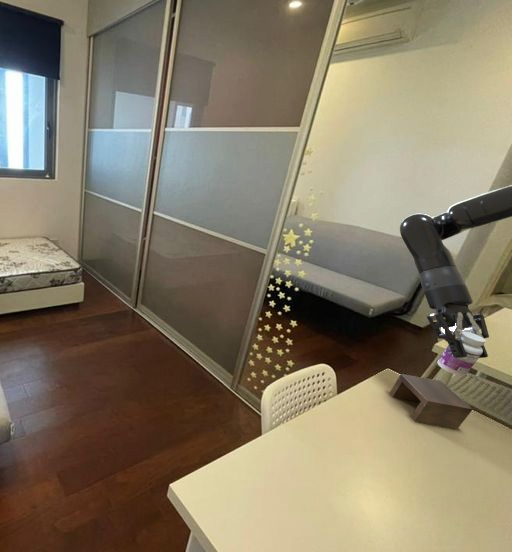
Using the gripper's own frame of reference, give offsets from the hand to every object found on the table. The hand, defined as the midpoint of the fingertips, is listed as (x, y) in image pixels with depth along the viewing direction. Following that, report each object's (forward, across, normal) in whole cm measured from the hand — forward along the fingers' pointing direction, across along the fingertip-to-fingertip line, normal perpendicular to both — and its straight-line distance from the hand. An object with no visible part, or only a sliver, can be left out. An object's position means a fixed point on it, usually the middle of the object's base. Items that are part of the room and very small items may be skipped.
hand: (471, 357), depth 74 cm
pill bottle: (+2, 0, +5) cm, 6 cm away
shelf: (+12, +2, +16) cm, 20 cm away
